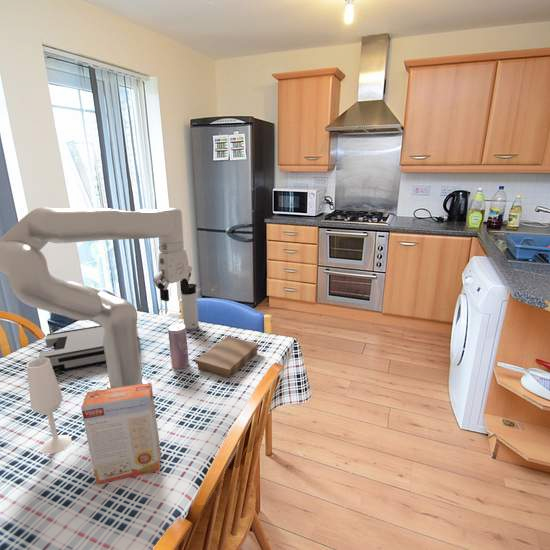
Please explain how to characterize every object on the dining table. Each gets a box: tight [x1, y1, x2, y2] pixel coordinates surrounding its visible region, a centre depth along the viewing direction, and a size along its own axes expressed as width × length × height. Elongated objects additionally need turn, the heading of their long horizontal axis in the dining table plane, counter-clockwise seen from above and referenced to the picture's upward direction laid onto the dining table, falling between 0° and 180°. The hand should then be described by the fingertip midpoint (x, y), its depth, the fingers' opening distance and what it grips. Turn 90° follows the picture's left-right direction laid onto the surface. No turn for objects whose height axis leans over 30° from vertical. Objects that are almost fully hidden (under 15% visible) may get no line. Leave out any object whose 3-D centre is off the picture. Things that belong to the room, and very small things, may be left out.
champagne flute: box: [25, 357, 72, 455], centre depth 90 cm, size 7×7×24 cm
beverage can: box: [167, 323, 190, 370], centre depth 127 cm, size 6×6×15 cm
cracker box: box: [80, 382, 162, 484], centre depth 83 cm, size 14×6×21 cm, turn 104°
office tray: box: [38, 325, 141, 373], centre depth 137 cm, size 21×32×8 cm, turn 113°
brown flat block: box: [194, 335, 260, 380], centre depth 131 cm, size 20×14×4 cm
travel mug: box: [180, 283, 200, 332], centre depth 156 cm, size 6×7×20 cm
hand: (175, 296), depth 123 cm, fingers open, 9 cm apart
